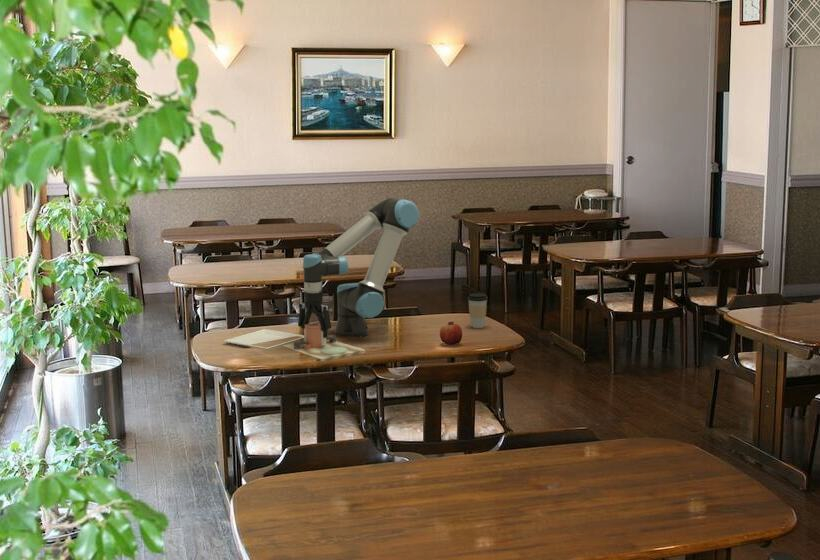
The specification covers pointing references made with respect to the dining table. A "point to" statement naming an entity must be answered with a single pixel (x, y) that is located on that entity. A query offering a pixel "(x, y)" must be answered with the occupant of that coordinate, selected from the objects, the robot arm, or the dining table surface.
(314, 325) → the pink cylinder
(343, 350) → the coaster
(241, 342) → the plate
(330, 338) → the lock station
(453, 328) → the fruit
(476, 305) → the coffee cup
